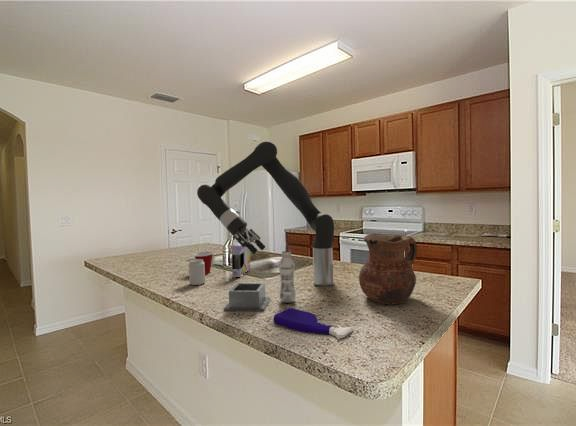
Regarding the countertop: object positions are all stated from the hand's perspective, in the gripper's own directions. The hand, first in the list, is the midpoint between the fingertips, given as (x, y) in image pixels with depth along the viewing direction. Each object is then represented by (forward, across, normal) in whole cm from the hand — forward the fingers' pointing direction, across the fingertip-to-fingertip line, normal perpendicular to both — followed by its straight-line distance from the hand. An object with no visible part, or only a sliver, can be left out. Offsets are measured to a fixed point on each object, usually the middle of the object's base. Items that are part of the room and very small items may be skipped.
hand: (260, 250), depth 122 cm
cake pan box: (-5, +39, +34) cm, 52 cm away
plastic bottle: (+22, 0, +7) cm, 23 cm away
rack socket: (+12, -7, +16) cm, 21 cm away
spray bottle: (+33, -21, -3) cm, 39 cm away
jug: (+49, +12, -20) cm, 54 cm away
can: (-14, +16, +43) cm, 48 cm away
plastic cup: (-20, +36, +49) cm, 64 cm away
